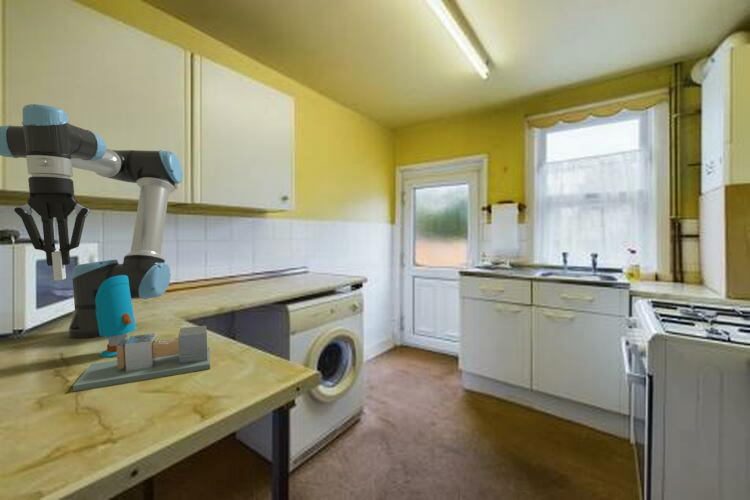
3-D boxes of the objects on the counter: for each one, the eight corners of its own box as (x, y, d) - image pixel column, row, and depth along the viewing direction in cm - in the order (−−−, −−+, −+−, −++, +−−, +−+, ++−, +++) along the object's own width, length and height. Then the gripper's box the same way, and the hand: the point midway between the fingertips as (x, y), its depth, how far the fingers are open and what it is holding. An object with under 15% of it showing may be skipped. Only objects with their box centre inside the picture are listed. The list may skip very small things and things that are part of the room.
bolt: (122, 361, 82) (121, 339, 82) (193, 351, 89) (192, 331, 88) (117, 369, 78) (116, 346, 77) (192, 357, 84) (192, 336, 84)
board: (91, 368, 83) (91, 363, 83) (209, 351, 94) (209, 347, 94) (73, 391, 71) (72, 385, 71) (209, 368, 82) (209, 363, 82)
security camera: (113, 272, 98) (142, 273, 96) (116, 346, 99) (146, 348, 97) (82, 276, 90) (114, 277, 88) (87, 356, 91) (118, 359, 89)
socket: (181, 354, 89) (180, 328, 88) (207, 350, 91) (206, 325, 91) (179, 364, 82) (178, 336, 81) (207, 360, 84) (206, 333, 84)
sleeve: (131, 362, 84) (130, 336, 83) (156, 358, 86) (154, 333, 85) (126, 372, 78) (124, 344, 77) (152, 368, 80) (151, 341, 80)
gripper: (3, 173, 72) (15, 284, 75) (83, 177, 79) (91, 279, 81) (19, 177, 79) (29, 279, 81) (91, 180, 85) (98, 274, 87)
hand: (60, 279), depth 81 cm, fingers closed
